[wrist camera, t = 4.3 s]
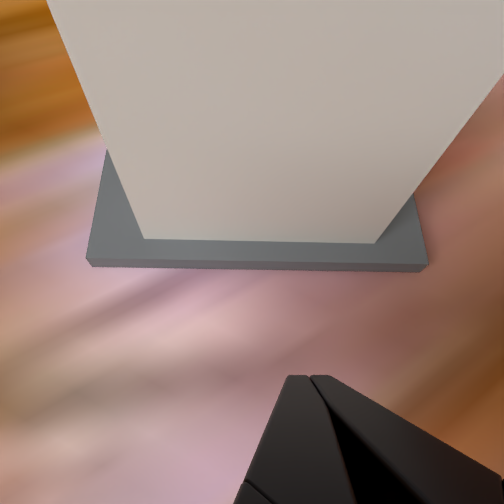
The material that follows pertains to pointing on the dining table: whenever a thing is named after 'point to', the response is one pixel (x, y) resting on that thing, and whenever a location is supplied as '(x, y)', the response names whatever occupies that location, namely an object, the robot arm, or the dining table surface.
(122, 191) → the slate board
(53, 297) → the dining table surface
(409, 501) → the robot arm
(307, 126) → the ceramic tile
